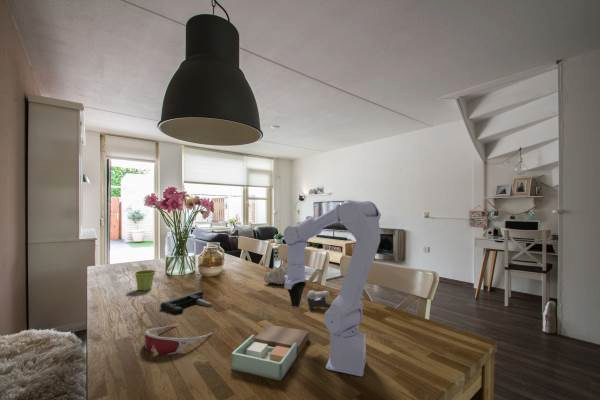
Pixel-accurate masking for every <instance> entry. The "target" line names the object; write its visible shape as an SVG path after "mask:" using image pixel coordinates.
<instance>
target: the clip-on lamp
mask: <svg viewBox="0 0 600 400" xmlns="http://www.w3.org/2000/svg"><path fill="white" fill-rule="evenodd" d="M330 297H331V293H330V291H329V290H321V291H320V290H319V291H315V290H313V289H311V290H309V291H308V292H307V294H306V299H302V298H301V301H302V302H307V304H308V309H309V310H313V309H314V308H316V307H317V308H318V307H323V306H326V305H327V304H328V299H330Z"/></svg>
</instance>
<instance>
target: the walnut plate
mask: <svg viewBox="0 0 600 400" xmlns="http://www.w3.org/2000/svg"><path fill="white" fill-rule="evenodd" d="M308 340H309V331H308V330H304V329H298V328H292V327H287V326H281V325H280V326H279V325H273V324H268V325H267V326H266V327H265V328H263V329H262V330H261V331H260V332H259V333H258V334H257V335H256V336H254V342H258V343H264V344H268V346H270V347H276V346H281V347H286V348H291V347H292V345H293V344H294V343H295V342H296V343H297V356H299V355H300V353H301V351H302V349H303V348H304V346H305V345H306V344H307V342H308Z"/></svg>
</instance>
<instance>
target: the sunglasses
mask: <svg viewBox="0 0 600 400" xmlns="http://www.w3.org/2000/svg"><path fill="white" fill-rule="evenodd" d="M177 327H178V325H167V326H161V327H154V328H153V327H152V328H151V329H148V330H146V331H145V334H144V347H145V350H147V351H148V352H150V353H151V352H152V351H153V349H155V351H156V352H157V354H158V355H175V354H178V353H180V352H181V351H182V350H184V349H185V347H186V345H187V344H192V343H194V342H197V341H200V340H202V339H205V338H207V337H210V336H211V335H212V334H213V332H209V333H207V334H205V335H200V336H193V337H166V336H161V335H160V336H159V335H157V334H153V333H156V332H159V331H161V330H165V329H174V328H177Z"/></svg>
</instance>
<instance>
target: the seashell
mask: <svg viewBox="0 0 600 400" xmlns="http://www.w3.org/2000/svg"><path fill="white" fill-rule="evenodd" d="M285 275H287V266H285V265H282V264H281V265H279V266H278V267H277V266H273V267H272V268H271V269H269V270H267V271H266V272H265V274H264V282H265V283H266V284H268V283H273V284H277V285H279V284H281V285H282V284H283V285H285V282H286V279H284V276H285Z"/></svg>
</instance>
